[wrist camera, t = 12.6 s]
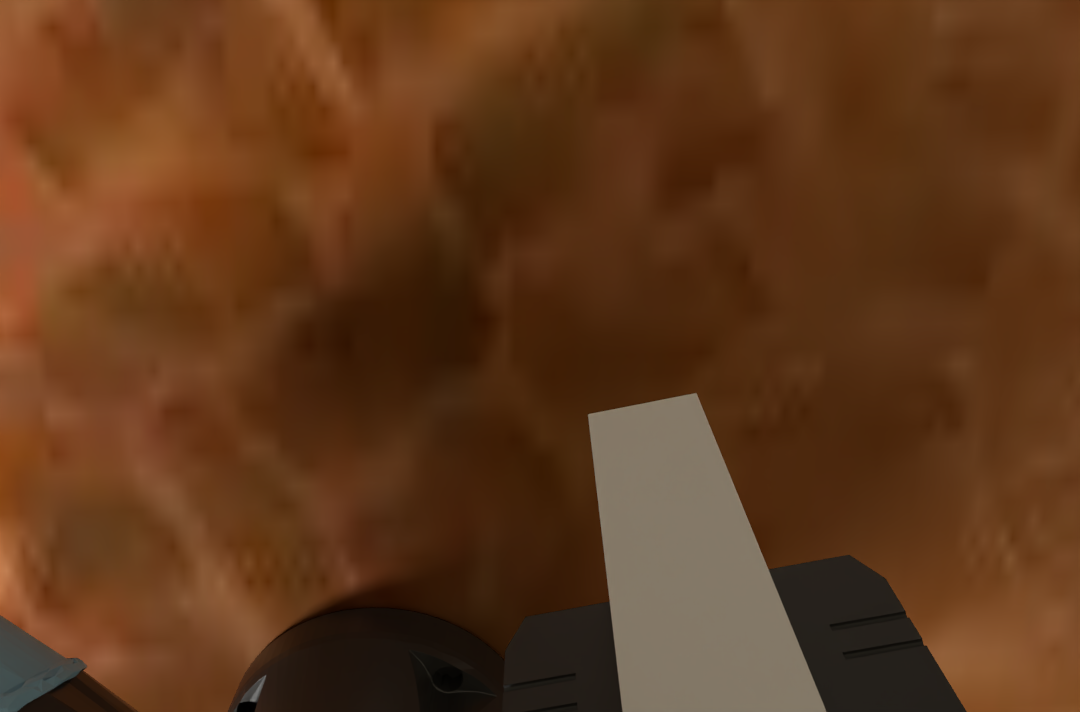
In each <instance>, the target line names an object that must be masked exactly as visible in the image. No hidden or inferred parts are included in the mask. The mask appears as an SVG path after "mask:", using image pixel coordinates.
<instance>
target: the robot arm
mask: <svg viewBox="0 0 1080 712" xmlns="http://www.w3.org/2000/svg"><path fill="white" fill-rule="evenodd" d="M588 420H589V428H590V437H591V445H592V454H593V463H594V471H595V480H596V488H597V497H598V505H599V514H600V523H601V531H602V540H603V548H604V557H605V566H606V574H607V583H608V591H609V600H610V602H605V603H600V604H594V605H589V606H583V607H578V608H572V609H567V610H561V611H556V612H550V613H545V614H539V615H534V616H528V617H525V619H524V620H523V622H522V624H521V625H520V627H519V629H518V630H517V632H516V634H515V635H514V637H513V639H512V640H511V642H510V643H509V645H508V647H507V648H506V650H505V661H504V660H503V659H502V658H501V657H500V656H499V655H498V654H497V653H496V652H495V651H494V650H492V649H491V648H490V647H489V646H488V645H486V644H485V643H484V642H482V641H481V640H479V639H478V638H476V637H475V636H473V635H472V634H470V633H468V632H467V631H465V630H463V629H461V628H459V627H457V626H455V625H453V624H451V623H448V622H446V621H443V620H441V619H438V618H435V617H432V616H428V615H425V614H421V613H417V612H412V611H406V610H400V609H390V608H361V609H351V610H345V611H339V612H335V613H330V614H327V615H323V616H320V617H317V618H314V619H312V620H309V621H307V622H304V623H302V624H300V625H298V626H296V627H294V628H292V629H291V630H289V631H287V632H286V633H284V634H283V635H281V636H280V637H278V638H277V639H276V640H274V641H273V642H272V643H271V644H270V645H268V646H267V647H266V648H265V649H264V650H263V651H262V652H261V653H260V654H259V655H258V656H257V658H256V659H255V660H254V661H253V663H252V664H251V665H250V667H249V668H248V670H247V671H246V673H245V675H244V677H243V679H242V681H241V683H240V685H239V687H238V689H237V692H236V694H235V696H234V698H233V701H232V703H231V705H230V707H229V710H228V712H966V710H965V708H964V707H963V705H962V704H961V702H960V700H959V699H958V697H957V695H956V694H955V692H954V690H953V689H952V687H951V685H950V684H949V682H948V681H947V679H946V677H945V676H944V674H943V672H942V671H941V669H940V667H939V666H938V664H937V662H936V661H935V659H934V658H933V656H932V654H931V653H930V651H929V649H928V648H927V646H924V645H923V642H922V638H921V636H920V635H919V633H918V631H917V630H916V628H915V626H914V625H913V623H912V621H911V620H910V618H907V616H906V612H905V610H904V608H903V607H902V605H901V603H900V602H899V600H898V598H897V597H896V595H895V593H894V592H893V590H892V589H891V587H890V585H889V584H888V582H887V580H886V579H885V578H884V577H882V576H881V575H879V574H878V573H876V572H875V571H873V570H872V569H870V568H868V567H867V566H865V565H864V564H862V563H861V562H859V561H858V560H856V559H855V558H853V557H852V556H850V555H846V556H840V557H835V558H829V559H824V560H818V561H813V562H807V563H802V564H796V565H791V566H785V567H780V568H774V569H769V570H768V567H767V565H766V562H765V560H764V557H763V555H762V553H761V550H760V548H759V545H758V543H757V540H756V538H755V535H754V533H753V531H752V528H751V526H750V523H749V521H748V518H747V516H746V513H745V511H744V508H743V506H742V504H741V501H740V499H739V496H738V494H737V491H736V489H735V486H734V484H733V482H732V479H731V477H730V474H729V472H728V469H727V467H726V464H725V462H724V459H723V457H722V455H721V452H720V450H719V447H718V445H717V442H716V440H715V437H714V435H713V433H712V430H711V428H710V425H709V423H708V420H707V418H706V415H705V413H704V410H703V408H702V406H701V403H700V401H699V398H698V396H697V393H694V394H689V395H684V396H678V397H673V398H668V399H663V400H658V401H653V402H648V403H643V404H638V405H633V406H628V407H622V408H617V409H612V410H607V411H602V412H597V413H592V414H588ZM86 667H87V665H86V664H85V663H84V662H83V661H82V660H80V659H78V658H65V657H63V656H62V655H60V654H59V653H57V652H55V651H54V650H52V649H51V648H49V647H48V646H46V645H45V644H43V643H42V642H40V641H38V640H37V639H35V638H34V637H32V636H31V635H29V634H28V633H26V632H25V631H23V630H22V629H20V628H19V627H17V626H16V625H14V624H13V623H11V622H10V621H8V620H7V619H5V618H4V617H2V616H1V615H0V712H138V711H137V710H135V709H134V708H133V707H131V706H130V705H129V704H127V703H126V702H125V701H123V700H122V699H121V698H119V697H118V696H116V695H115V694H114V693H112V692H111V691H110V690H108V689H107V688H106V687H104V686H103V685H102V684H100V683H99V682H98V681H96V680H95V679H94V678H92V677H91V676H90V675H88V674H87V673H86V672H84V671H83V670H84V669H85V668H86Z"/></svg>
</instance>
